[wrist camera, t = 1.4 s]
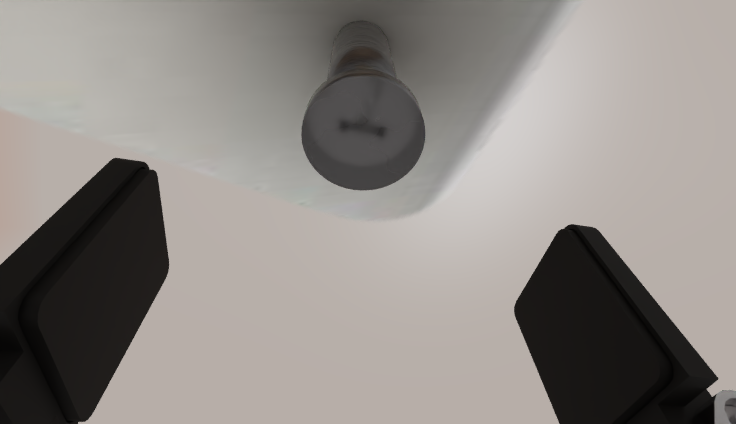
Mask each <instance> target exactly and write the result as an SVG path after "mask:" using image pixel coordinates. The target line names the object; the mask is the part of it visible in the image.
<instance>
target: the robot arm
mask: <svg viewBox="0 0 736 424" xmlns="http://www.w3.org/2000/svg"><path fill="white" fill-rule="evenodd" d="M168 269H169V258H168V252H167V243H166V236H165V228H164V221H163V213H162V206H161V198H160V191H159V183H158V176H157V173H156V171H154V170H149V167H148V165H147V164H146V163H145V162H141V161H134V160H127V159H120V158H114V159H112V160H111V161H110V162H109V163H108V164H107V165H105V166H104V167H103V168H102V169H101V170H100V171H99V172H98V173H97V174H96V175H95V176H94V177H93V178H92V179H91V180H90V181H89V182H87V183H86V184H85V185H84V186H83V187H82V188H81V189H80V190H79V191H78V192H77V193H76V194H75V195H74V196H73V197H72V198H71V199H70V200H68V201H67V202H66V203H65V204H64V205H63V206H62V207H61V208H60V209H59V210H58V211H57V212H56V213H55V214H54V215H53V216H52V217H50V218H49V220H47V221H46V222H45V223H44V224H43V225H42V226H41V227H40V228H39V229H38V230H37V231H36V232H35V233H34V234H32V235H31V236H30V237H29V238H28V239H27V240H26V241H25V242H24V243H23V244H22V245H21V246H20V247H19V248H18V249H17V250H16V251H15V252H14V253H12V254H11V255H10V256H9V257H8V258H7V259H6V260H5V261H4V262H3V263H2V264H1V265H0V424H78V422H85V421H86V420H88V419H89V417H90V416H91V415H92V413H93V412H94V410H95V408H96V406H97V404H98V402H99V401H100V399H101V397H102V395H103V393H104V391H105V390H106V388H107V386H108V384H109V382H110V380H111V378H112V377H113V375H114V373H115V371H116V369H117V368H118V366H119V364H120V362H121V360H122V358H123V356H124V355H125V353H126V351H127V349H128V347H129V345H130V343H131V342H132V340H133V338H134V336H135V334H136V332H137V331H138V329H139V327H140V325H141V323H142V321H143V319H144V318H145V316H146V314H147V312H148V310H149V308H150V306H151V304H152V303H153V301H154V299H155V297H156V295H157V294H158V292H159V290H160V288H161V286H162V284H163V283H164V280H165V279H166V277H167V274H168ZM514 312H515V317H516V320H517V322H518V324H519V327H520V329H521V332H522V334H523V336H524V339H525V341H526V343H527V346H528V349H529V351H530V353H531V356H532V358H533V361H534V363H535V365H536V367H537V370H538V373H539V375H540V378H541V380H542V382H543V385H544V387H545V390H546V392H547V394H548V397H549V399H550V402H551V404H552V406H553V409H554V411H555V414H556V416H557V418H558V421H559V423H560V424H736V391H732V390H722V391H721V392H719V393H718V394H716V395H715V396H713V397H711V395H710V393H709V392H708V391H707V390H706V389H707V388H708V387H709V386H711V385H712V384H713V383H714V382H715V381H717V380H718V377H717V376H716V375H715V374H714V372H713V371H712V370H711V369H710V368H709V366H708V365H707V364H706V363H705V362H704V360H703V359H702V358H701V356H700V355H699V354H698V353H697V351H696V350H695V349H694V348H693V347H692V346H691V344H690V343H689V342H688V340H687V339H686V338H685V337H684V336H683V334H682V333H681V332H680V331H679V329H678V328H677V327H676V326H675V324H674V323H673V322H672V321H671V320H670V318H669V317H668V316H667V315H666V313H665V312H664V311H663V310H662V308H661V307H660V306H659V305H658V303H657V302H656V301H655V300H654V299H653V297H652V296H651V295H650V293H649V292H648V291H647V290H646V289H645V287H644V286H643V285H642V284H641V282H640V281H639V280H638V279H637V277H636V276H635V275H634V274H633V273H632V271H631V270H630V269H629V268H628V266H627V265H626V264H625V263H624V262H623V260H622V259H621V258H620V256H619V255H618V254H617V253H616V252H615V250H614V249H613V248H612V247H611V245H610V244H609V243H608V242H607V240H606V239H605V238H604V237H603V236H602V234H601V233H600V232H599V231H598V230H597V229H596V228H593V227H587V226H580V225H574V224H571V225H568V226H567V227H565V229H561V230H560V231H558V233H557V234H556V236H555V237H554V239H553V241H552V242H551V244H550V246H549V247H548V249H547V251H546V252H545V254H544V256H543V258H542V259H541V261H540V263H539V264H538V266H537V268H536V269H535V271H534V273H533V274H532V276H531V278H530V280H529V281H528V283H527V284H526V286H525V288H524V289H523V291H522V293H521V295H520V296H519V298H518V300H517V301H516V304H515V307H514Z"/></svg>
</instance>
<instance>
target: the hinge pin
mask: <svg viewBox="0 0 736 424" xmlns="http://www.w3.org/2000/svg"><path fill="white" fill-rule="evenodd" d="M424 142H425V126H424V120H423V117H422V114H421V111H420V108H419V105H418V103H417V101H416V99H415V97H414V95H413V94H412V92H411V91H410V90H409V89H408V88H407V87H406V86H405V84H403V83H402V82H401V81H400V80H398V79H397V77H396V73H395V69H394V65H393V61H392V57H391V53H390V49H389V45H388V41H387V38H386V36H385V34H384V33H383V32H382V30H381V29H380V28H378V27H377V26H376V25H374V24H372V23H370V22H366V21H356V22H352V23H350V24H348V25H346V26H345V27H343V28H342V29H341V30H340V31H339V33H338V34H337V36H336V38H335V41H334V45H333V50H332V55H331V61H330V66H329V72H328V77H327V81H326V82H324V83H323V84H322V85H321V86H320V87H319V88H318V89H317V90H316V91H315V93H314V94H313V96H312V97H311V99H310V101H309V103H308V106H307V109H306V112H305V116H304V120H303V125H302V144H303V148H304V151H305V154H306V156H307V158H308V160H309V162H310V163H311V165H312V166H313V167H314V169H315V170H316V171H317V172H318V173H319V174H320V175H322V176H323V177H324V178H325V179H327V180H329V181H330V182H332V183H334V184H336V185H338V186H341V187H344V188H348V189H353V190H373V189H378V188H382V187H385V186H388V185H390V184H392V183H394V182H396V181H398V180H399V179H401V178H402V177H404V176H405V175H406V174H407V173H408V172H409V171H410V170H411V169H412V168H413V167H414V165H415V164H416V162H417V161H418V159H419V157H420V155H421V153H422V150H423V146H424Z"/></svg>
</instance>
